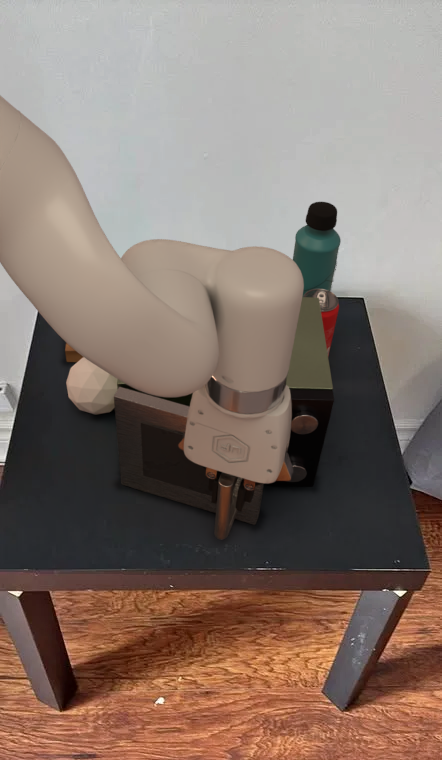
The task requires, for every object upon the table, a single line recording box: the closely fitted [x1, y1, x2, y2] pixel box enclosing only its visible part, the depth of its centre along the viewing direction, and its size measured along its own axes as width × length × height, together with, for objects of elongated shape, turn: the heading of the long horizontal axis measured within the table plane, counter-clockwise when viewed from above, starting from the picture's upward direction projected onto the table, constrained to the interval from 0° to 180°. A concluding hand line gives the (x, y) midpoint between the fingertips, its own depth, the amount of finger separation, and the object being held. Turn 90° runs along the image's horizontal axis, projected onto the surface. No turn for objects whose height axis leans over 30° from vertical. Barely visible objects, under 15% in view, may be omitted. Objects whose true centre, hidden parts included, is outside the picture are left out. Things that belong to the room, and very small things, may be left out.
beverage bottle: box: [292, 201, 342, 296], centre depth 107 cm, size 6×7×20 cm
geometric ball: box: [65, 357, 118, 415], centre depth 99 cm, size 8×8×8 cm
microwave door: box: [114, 387, 265, 540], centre depth 85 cm, size 7×18×16 cm, turn 71°
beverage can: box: [303, 289, 340, 357], centre depth 104 cm, size 5×5×12 cm
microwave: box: [117, 297, 335, 487], centre depth 93 cm, size 18×24×16 cm
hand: (230, 496), depth 83 cm, fingers closed
